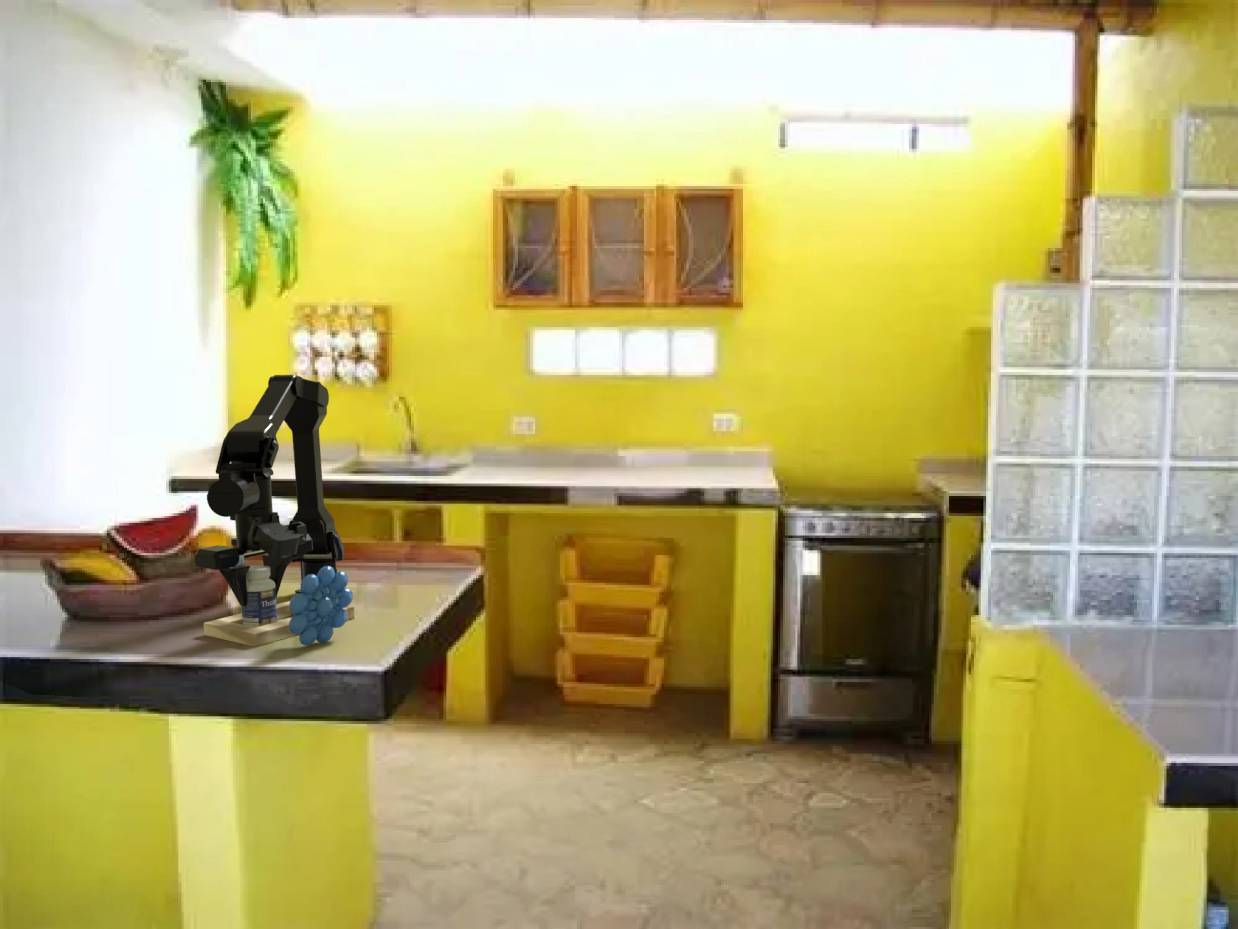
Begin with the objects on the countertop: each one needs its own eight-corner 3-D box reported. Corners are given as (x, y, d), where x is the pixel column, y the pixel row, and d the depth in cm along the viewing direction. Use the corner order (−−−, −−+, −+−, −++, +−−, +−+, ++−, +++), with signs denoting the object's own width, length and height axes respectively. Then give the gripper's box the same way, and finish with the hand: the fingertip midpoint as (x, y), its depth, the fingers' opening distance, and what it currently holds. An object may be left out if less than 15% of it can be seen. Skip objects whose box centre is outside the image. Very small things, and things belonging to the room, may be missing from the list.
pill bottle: (266, 632, 169) (263, 572, 168) (236, 630, 170) (232, 571, 169) (283, 623, 174) (280, 565, 173) (253, 622, 175) (250, 564, 174)
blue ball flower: (336, 630, 173) (333, 558, 171) (363, 637, 169) (360, 562, 167) (274, 647, 164) (270, 570, 162) (300, 654, 159) (297, 576, 158)
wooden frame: (303, 608, 188) (303, 597, 187) (354, 618, 180) (354, 606, 180) (204, 635, 171) (203, 622, 171) (256, 646, 164) (255, 634, 164)
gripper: (235, 519, 158) (241, 621, 159) (333, 502, 173) (337, 596, 175) (190, 513, 164) (195, 612, 166) (288, 498, 179) (292, 589, 181)
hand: (258, 602), depth 172 cm, fingers closed on pill bottle, 5 cm apart
